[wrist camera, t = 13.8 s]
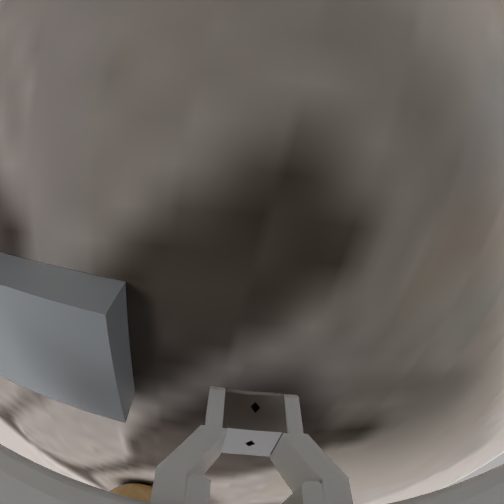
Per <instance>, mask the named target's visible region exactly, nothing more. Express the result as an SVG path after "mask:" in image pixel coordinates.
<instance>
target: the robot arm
mask: <svg viewBox="0 0 504 504" xmlns="http://www.w3.org/2000/svg"><path fill="white" fill-rule="evenodd" d="M221 453H230V454H245V455H255V456H268V457H269V458H270V460H271V461H272V463H273V464H274V466H275V467H276V469H277V470H278V471H279V473H280V474H281V476H282V477H283V479H284V480H285V482H286V483H287V485H288V486H289V487H290V489H291V490H292V492H293V494H292V495H291V496H290V497H289V498H287V499H286V500H285V501H284V502H283V503H282V504H353V500H352V495H351V489H350V484H349V478H348V477H347V476H346V475H345V474H344V473H343V472H342V471H341V470H340V468H339V467H338V466H337V465H336V464H335V463H334V462H333V461H332V460H331V459H330V458H329V457H328V456H327V455H326V453H325V452H324V451H323V450H322V449H321V448H320V447H319V446H318V445H317V444H316V443H315V441H314V440H313V439H312V438H311V437H310V436H309V435H308V434H304V433H303V425H302V418H301V410H300V403H299V397H298V396H297V395H290V394H281V393H267V392H255V391H254V392H250V391H243V390H236V389H229V388H223V387H216V386H210V390H209V396H208V403H207V410H206V417H205V425H200V426H199V427H198V428H197V429H196V430H195V431H194V432H193V433H192V434H191V435H190V436H189V437H188V438H187V439H186V440H185V441H184V442H183V443H182V444H180V445H179V446H178V447H177V448H176V449H175V450H174V451H173V452H172V453H171V454H170V455H169V456H168V457H167V458H165V459H164V460H163V461H162V462H161V463H160V464H159V465H158V466H157V468H156V473H155V478H154V483H153V488H152V493H151V498H150V502H146V501H142V500H138V499H134V498H130V497H126V496H122V495H119V494H116V493H112V492H109V491H106V490H103V489H99V488H96V487H94V486H91V485H88V484H85V483H82V482H80V481H77V480H74V479H72V478H69V477H67V476H64V475H62V474H59V473H57V472H55V471H52V470H50V469H48V468H46V467H44V466H41V465H39V464H37V463H35V462H33V461H31V460H29V459H27V458H25V457H23V456H21V455H19V454H17V453H15V452H14V451H12V450H10V449H8V448H6V447H5V446H3V445H1V444H0V504H209V498H210V483H211V480H210V479H209V478H208V477H207V476H203V475H204V473H205V472H206V471H207V470H208V469H209V468H210V466H211V465H212V464H213V463H214V462H215V461H216V459H217V458H218V457H219V456H220V455H221ZM389 504H504V464H502V465H500V466H498V467H496V468H494V469H491V470H489V471H487V472H485V473H483V474H480V475H478V476H475V477H473V478H470V479H468V480H465V481H463V482H460V483H458V484H455V485H452V486H449V487H446V488H443V489H440V490H437V491H434V492H431V493H428V494H424V495H421V496H417V497H414V498H410V499H406V500H402V501H398V502H393V503H389Z"/></svg>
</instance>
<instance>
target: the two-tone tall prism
mask: <svg viewBox="0 0 504 504" xmlns="http://www.w3.org/2000/svg"><path fill="white" fill-rule="evenodd" d="M0 376H2V377H4V378H6V379H8V380H10V381H12V382H14V383H17V384H19V385H21V386H23V387H25V388H28V389H30V390H32V391H34V392H37V393H39V394H42V395H44V396H46V397H49V398H51V399H54V400H57V401H59V402H62V403H65V404H67V405H70V406H73V407H76V408H79V409H82V410H85V411H88V412H91V413H94V414H97V415H100V416H104V417H107V418H110V419H114V420H118V421H121V422H126V419H127V416H128V413H129V410H130V407H131V403H132V400H133V397H134V394H135V386H134V378H133V371H132V362H131V353H130V343H129V332H128V319H127V303H126V282H125V281H120V280H115V279H110V278H106V277H101V276H96V275H92V274H87V273H83V272H78V271H74V270H70V269H65V268H61V267H57V266H53V265H49V264H44V263H40V262H36V261H32V260H28V259H24V258H21V257H17V256H13V255H9V254H5V253H2V252H0Z"/></svg>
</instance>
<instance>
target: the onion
mask: <svg viewBox="0 0 504 504" xmlns="http://www.w3.org/2000/svg"><path fill="white" fill-rule="evenodd" d="M152 487H153V485H145V484H140V483H139V484H137V483H136V484H135V483H131V484H123V485H120V486H118V487H116V488H114V489H113V490H111V491H110V492H112V493H116V494H119V495H122V496H126V497H130V498H134V499H138V500H142V501H146V502H150V498H151V493H152Z"/></svg>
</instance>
